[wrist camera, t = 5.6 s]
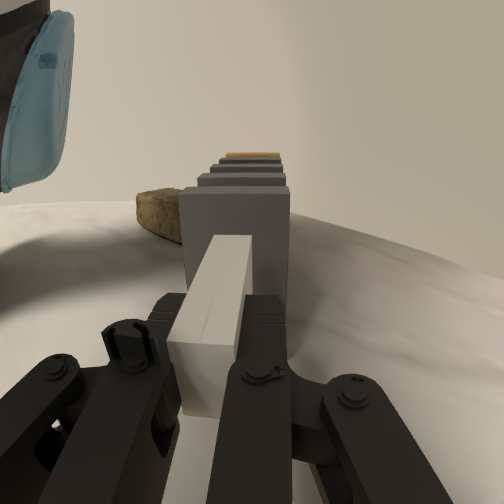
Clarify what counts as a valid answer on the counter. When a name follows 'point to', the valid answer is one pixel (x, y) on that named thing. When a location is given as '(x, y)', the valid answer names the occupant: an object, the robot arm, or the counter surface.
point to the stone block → (160, 212)
